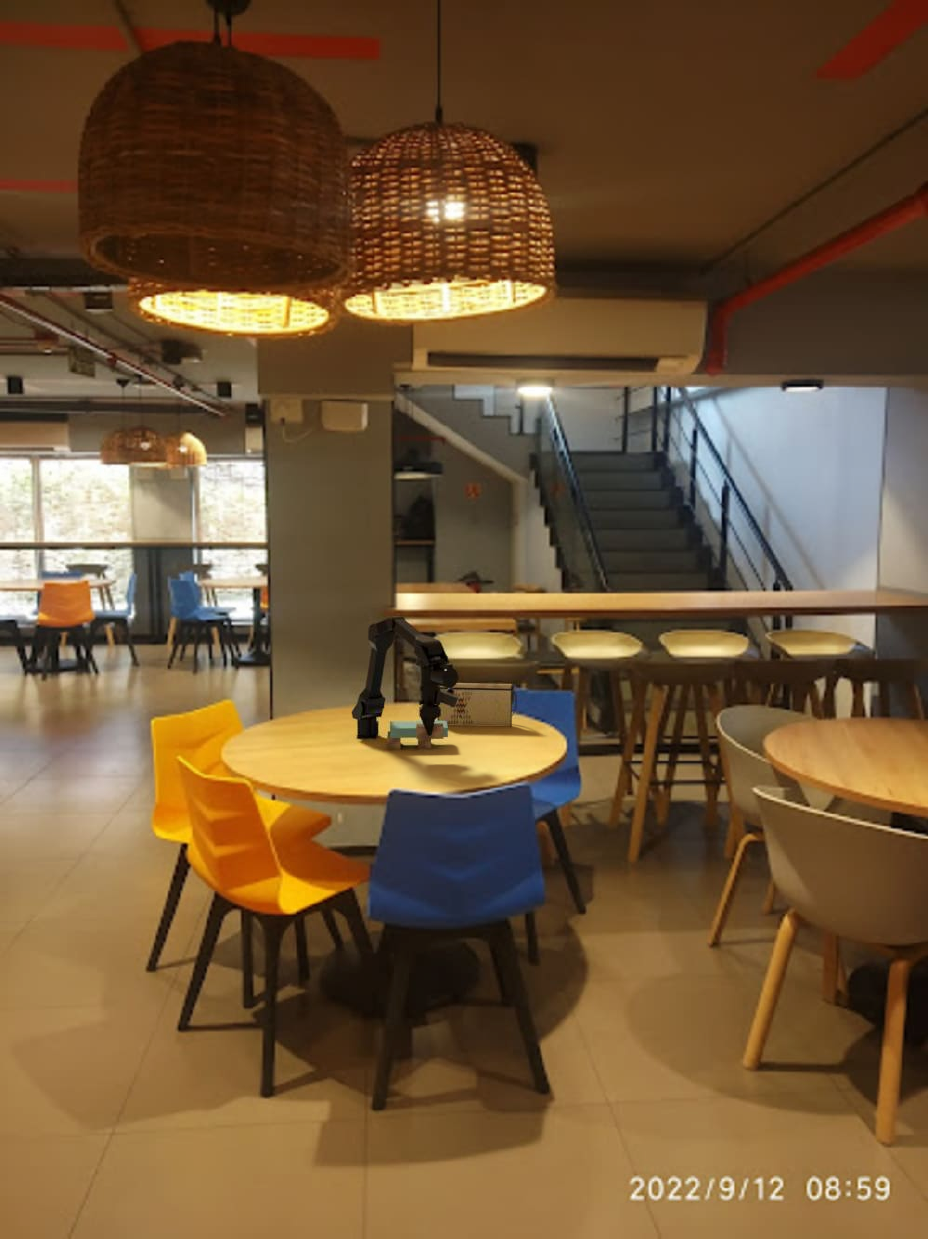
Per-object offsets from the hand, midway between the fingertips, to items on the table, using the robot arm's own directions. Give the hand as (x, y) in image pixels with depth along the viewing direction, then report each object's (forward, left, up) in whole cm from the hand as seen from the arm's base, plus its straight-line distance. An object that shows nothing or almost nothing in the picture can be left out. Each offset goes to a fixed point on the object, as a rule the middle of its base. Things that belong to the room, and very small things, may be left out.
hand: (429, 733), depth 266 cm
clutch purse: (+16, +43, -8) cm, 46 cm away
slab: (-3, +16, -4) cm, 16 cm away
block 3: (-1, +15, -8) cm, 17 cm away
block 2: (0, 0, -1) cm, 1 cm away
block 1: (-11, +15, -8) cm, 20 cm away
